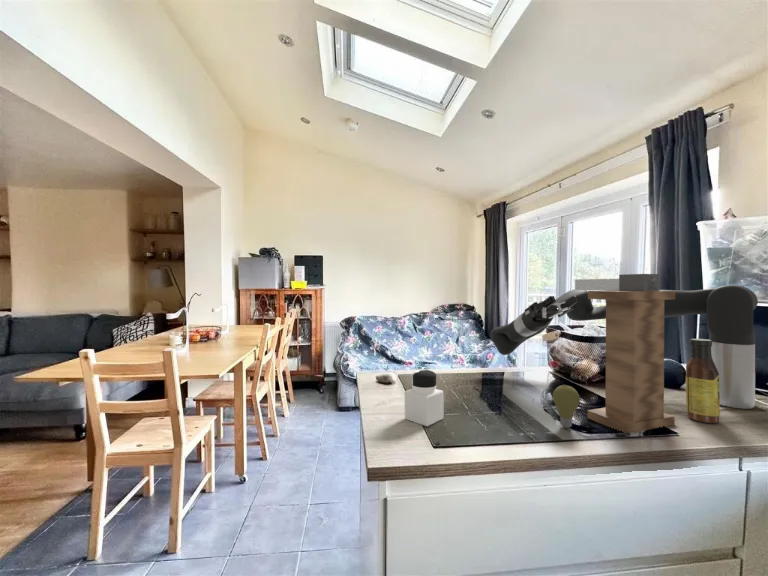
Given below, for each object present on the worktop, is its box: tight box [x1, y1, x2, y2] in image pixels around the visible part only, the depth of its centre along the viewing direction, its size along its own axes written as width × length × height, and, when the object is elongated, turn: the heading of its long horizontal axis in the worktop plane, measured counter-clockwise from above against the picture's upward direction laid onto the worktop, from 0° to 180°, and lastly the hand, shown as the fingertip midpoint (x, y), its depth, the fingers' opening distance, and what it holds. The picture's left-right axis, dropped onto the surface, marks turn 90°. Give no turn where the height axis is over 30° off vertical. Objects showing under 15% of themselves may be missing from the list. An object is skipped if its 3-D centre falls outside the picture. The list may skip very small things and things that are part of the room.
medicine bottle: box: [404, 369, 445, 427], centre depth 90 cm, size 7×7×12 cm
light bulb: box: [552, 384, 580, 429], centre depth 84 cm, size 6×6×10 cm
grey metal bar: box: [574, 273, 660, 291], centre depth 92 cm, size 5×20×4 cm, turn 19°
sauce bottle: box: [685, 338, 721, 424], centre depth 89 cm, size 7×6×20 cm
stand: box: [587, 290, 676, 434], centre depth 87 cm, size 16×10×32 cm, turn 109°
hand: (565, 298), depth 106 cm, fingers open, 8 cm apart
